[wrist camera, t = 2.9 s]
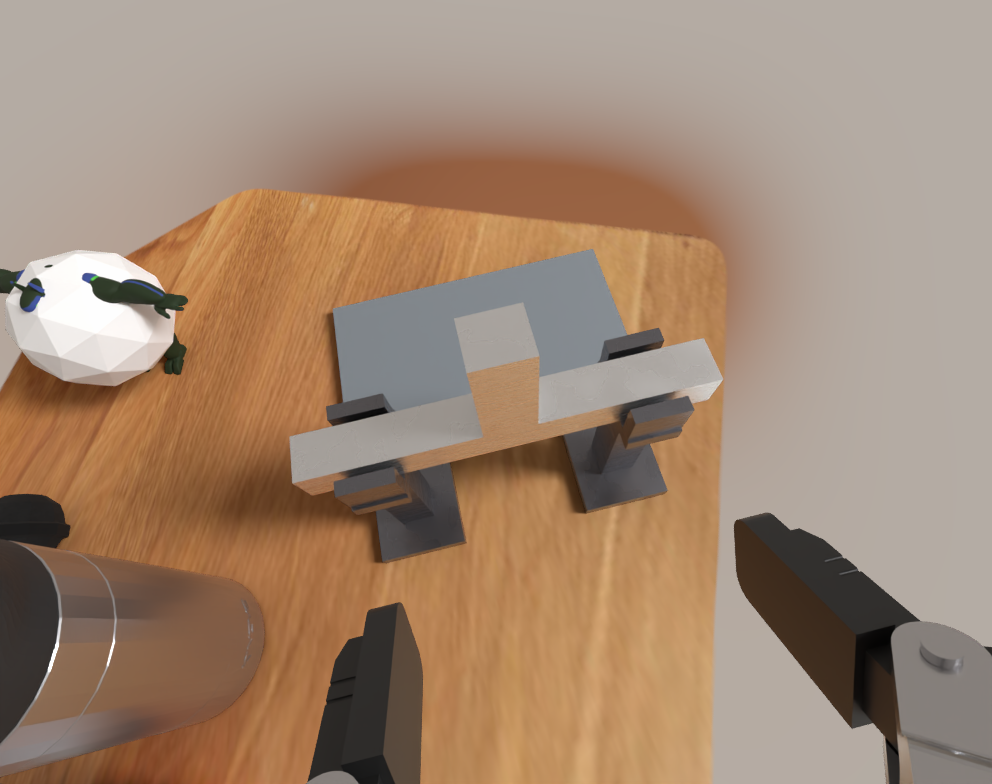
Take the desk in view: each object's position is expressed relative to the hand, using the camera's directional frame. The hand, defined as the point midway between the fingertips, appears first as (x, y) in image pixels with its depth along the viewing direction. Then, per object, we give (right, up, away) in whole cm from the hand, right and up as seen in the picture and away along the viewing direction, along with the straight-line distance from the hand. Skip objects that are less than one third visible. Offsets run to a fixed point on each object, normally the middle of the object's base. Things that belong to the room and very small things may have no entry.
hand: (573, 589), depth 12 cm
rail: (-1, +3, +16) cm, 17 cm away
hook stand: (0, -2, +27) cm, 27 cm away
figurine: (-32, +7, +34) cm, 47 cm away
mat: (-3, +9, +33) cm, 34 cm away
